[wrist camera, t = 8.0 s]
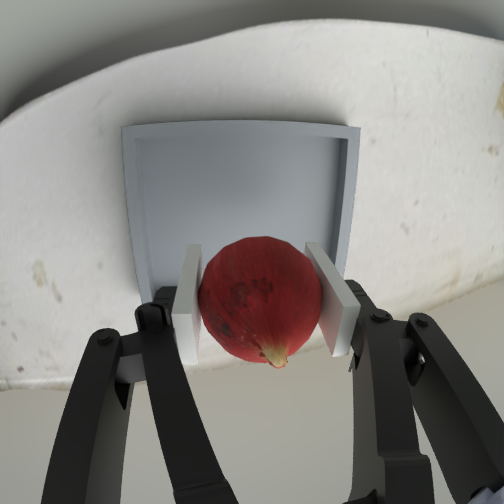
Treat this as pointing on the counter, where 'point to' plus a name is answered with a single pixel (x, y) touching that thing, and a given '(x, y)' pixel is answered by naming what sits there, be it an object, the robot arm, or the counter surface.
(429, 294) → the counter surface
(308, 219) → the tray
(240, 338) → the onion
